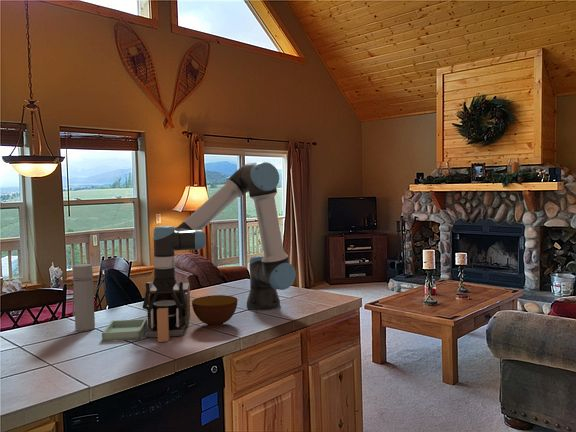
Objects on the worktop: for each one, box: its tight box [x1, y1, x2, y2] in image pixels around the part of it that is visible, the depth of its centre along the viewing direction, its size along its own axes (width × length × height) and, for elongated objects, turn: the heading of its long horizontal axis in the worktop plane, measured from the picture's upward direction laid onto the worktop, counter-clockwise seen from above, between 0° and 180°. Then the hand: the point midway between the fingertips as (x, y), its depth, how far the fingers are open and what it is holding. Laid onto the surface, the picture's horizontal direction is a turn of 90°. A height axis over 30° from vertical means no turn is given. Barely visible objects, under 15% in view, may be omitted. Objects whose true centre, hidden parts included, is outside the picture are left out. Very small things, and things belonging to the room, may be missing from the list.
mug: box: [153, 300, 183, 330], centre depth 187 cm, size 12×9×10 cm
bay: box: [146, 282, 191, 330], centre depth 195 cm, size 15×17×14 cm
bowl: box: [191, 294, 239, 329], centre depth 190 cm, size 18×18×10 cm
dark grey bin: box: [146, 308, 186, 343], centre depth 180 cm, size 13×21×11 cm, turn 8°
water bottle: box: [70, 263, 96, 332], centre depth 187 cm, size 9×8×25 cm
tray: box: [101, 318, 148, 342], centre depth 181 cm, size 13×16×3 cm
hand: (165, 326), depth 183 cm, fingers closed on mug, 9 cm apart
